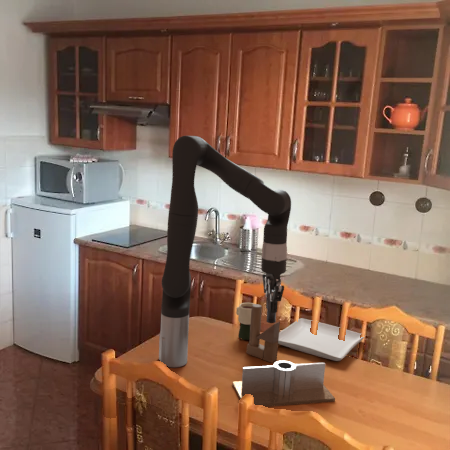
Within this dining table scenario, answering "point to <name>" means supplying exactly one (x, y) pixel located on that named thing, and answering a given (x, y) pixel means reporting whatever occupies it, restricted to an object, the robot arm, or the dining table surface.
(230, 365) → the dining table surface
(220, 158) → the robot arm
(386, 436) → the dining table surface
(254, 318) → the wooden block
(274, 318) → the hinge pin
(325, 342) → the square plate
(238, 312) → the character mug
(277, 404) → the hinge stand
